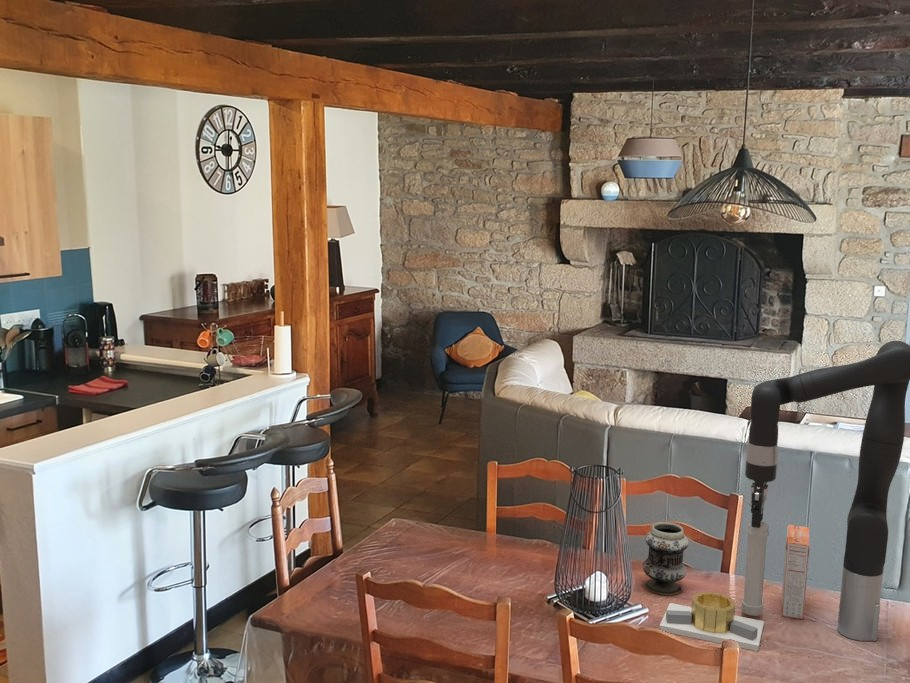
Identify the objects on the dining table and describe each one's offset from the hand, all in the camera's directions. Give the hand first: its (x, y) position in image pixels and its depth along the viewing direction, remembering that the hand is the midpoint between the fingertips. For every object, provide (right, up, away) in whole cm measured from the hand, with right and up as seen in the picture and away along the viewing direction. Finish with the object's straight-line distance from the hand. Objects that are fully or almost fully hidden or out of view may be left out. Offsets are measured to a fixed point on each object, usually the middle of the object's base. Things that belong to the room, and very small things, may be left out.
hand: (757, 523), depth 238 cm
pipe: (0, -24, +4) cm, 25 cm away
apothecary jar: (-20, -22, +20) cm, 36 cm away
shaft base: (-13, -26, -3) cm, 29 cm away
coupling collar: (-13, -25, -4) cm, 28 cm away
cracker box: (+13, -25, +9) cm, 29 cm away
